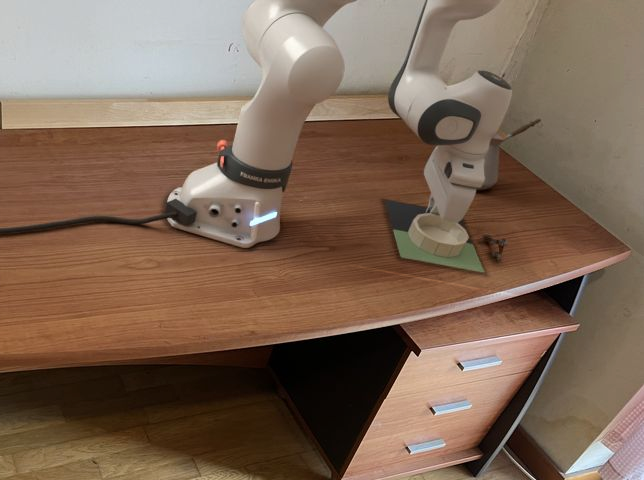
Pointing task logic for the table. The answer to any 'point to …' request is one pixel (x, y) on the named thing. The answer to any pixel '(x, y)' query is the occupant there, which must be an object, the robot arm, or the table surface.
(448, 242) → the bowl
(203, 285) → the table surface
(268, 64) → the robot arm
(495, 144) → the coffee pot
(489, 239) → the wooden post with brackets
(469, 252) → the desk mat
